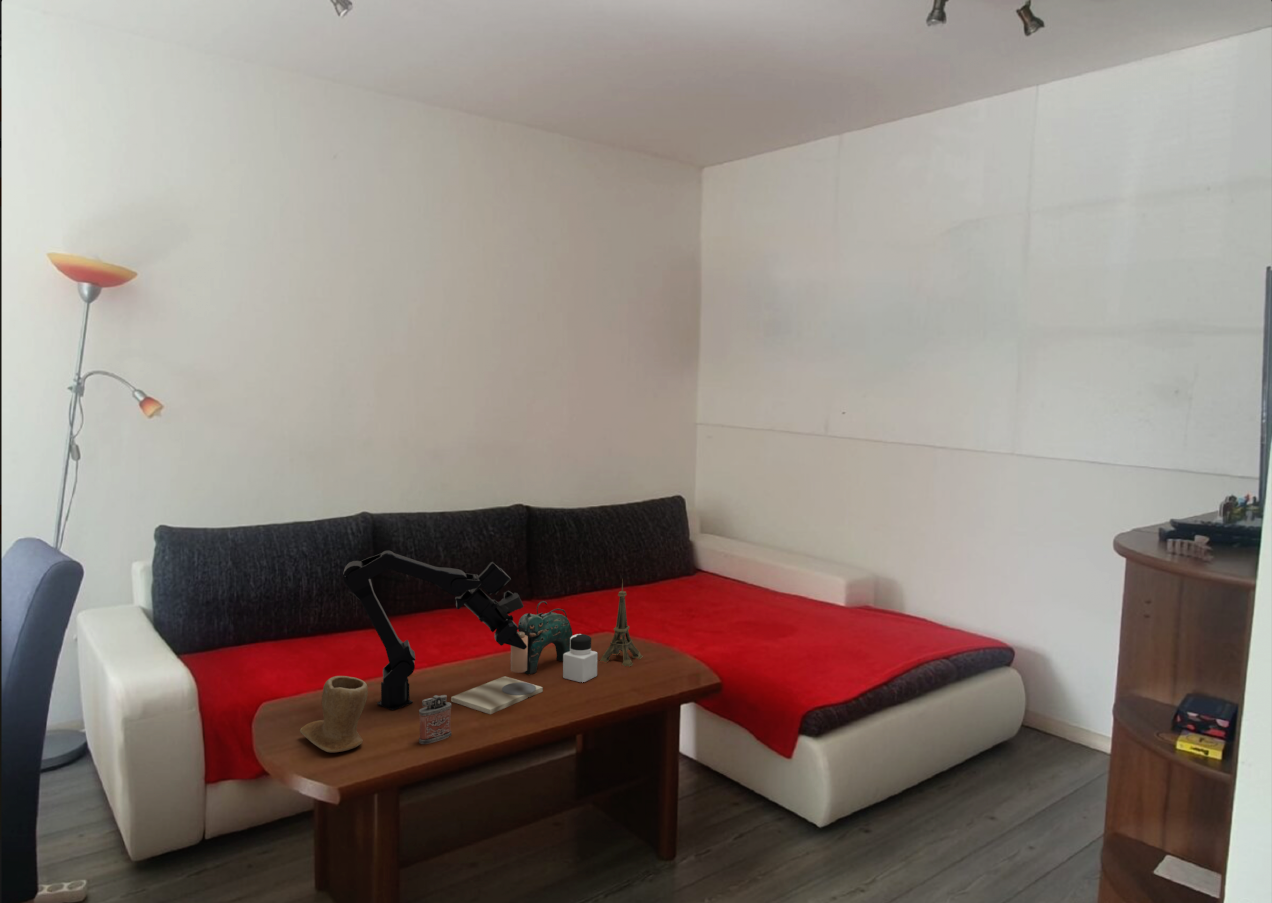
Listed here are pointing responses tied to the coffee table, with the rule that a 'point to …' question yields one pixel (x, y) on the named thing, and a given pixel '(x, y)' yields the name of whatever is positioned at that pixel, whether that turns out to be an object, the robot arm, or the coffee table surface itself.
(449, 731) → the lighter
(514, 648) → the pink cylindrical bottle
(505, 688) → the serving board
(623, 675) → the coffee table surface
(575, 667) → the medicine bottle
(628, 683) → the coffee table surface
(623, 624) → the eiffel tower
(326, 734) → the stone cup
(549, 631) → the ceramic cat
